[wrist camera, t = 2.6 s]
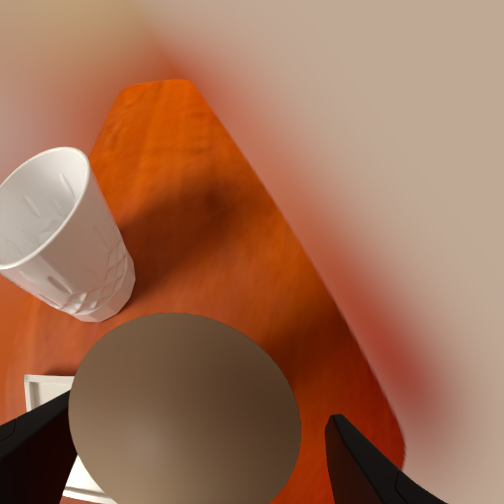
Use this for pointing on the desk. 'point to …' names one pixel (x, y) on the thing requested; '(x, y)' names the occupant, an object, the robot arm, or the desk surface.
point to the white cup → (63, 237)
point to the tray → (79, 479)
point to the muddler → (183, 414)
